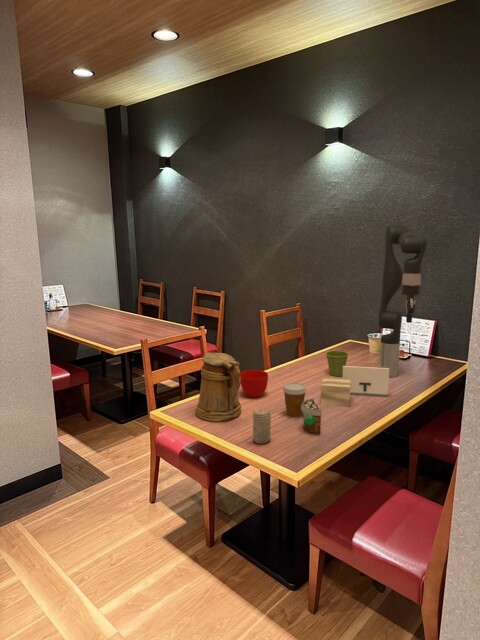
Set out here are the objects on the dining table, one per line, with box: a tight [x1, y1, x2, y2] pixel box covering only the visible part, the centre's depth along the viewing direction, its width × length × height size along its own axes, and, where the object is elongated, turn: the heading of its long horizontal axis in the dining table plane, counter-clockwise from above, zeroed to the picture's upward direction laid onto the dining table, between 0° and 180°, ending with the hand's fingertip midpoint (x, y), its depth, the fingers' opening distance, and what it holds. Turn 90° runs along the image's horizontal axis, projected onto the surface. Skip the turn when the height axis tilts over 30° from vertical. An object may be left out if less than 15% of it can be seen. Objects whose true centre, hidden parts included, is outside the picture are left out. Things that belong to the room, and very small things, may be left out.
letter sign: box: [342, 365, 390, 398], centre depth 209 cm, size 6×20×13 cm, turn 77°
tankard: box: [195, 352, 242, 423], centre depth 187 cm, size 18×24×25 cm
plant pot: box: [325, 350, 350, 377], centre depth 236 cm, size 12×12×11 cm
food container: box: [301, 398, 322, 435], centre depth 174 cm, size 12×6×10 cm, turn 5°
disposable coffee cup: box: [282, 382, 307, 418], centre depth 188 cm, size 10×10×12 cm
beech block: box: [320, 377, 351, 408], centre depth 201 cm, size 10×12×9 cm
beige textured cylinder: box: [252, 407, 272, 444], centre depth 165 cm, size 6×8×12 cm
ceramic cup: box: [240, 369, 269, 399], centre depth 212 cm, size 13×17×10 cm
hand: (408, 322), depth 204 cm, fingers closed
